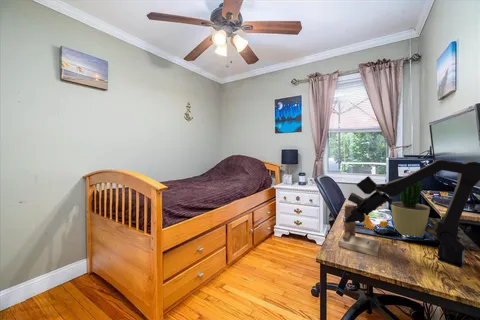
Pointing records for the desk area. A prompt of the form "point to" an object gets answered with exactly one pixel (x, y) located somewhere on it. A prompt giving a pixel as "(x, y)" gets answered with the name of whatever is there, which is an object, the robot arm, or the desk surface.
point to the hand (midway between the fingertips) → (346, 220)
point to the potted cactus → (410, 212)
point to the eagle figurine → (431, 231)
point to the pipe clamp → (371, 225)
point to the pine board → (360, 244)
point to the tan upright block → (351, 225)
